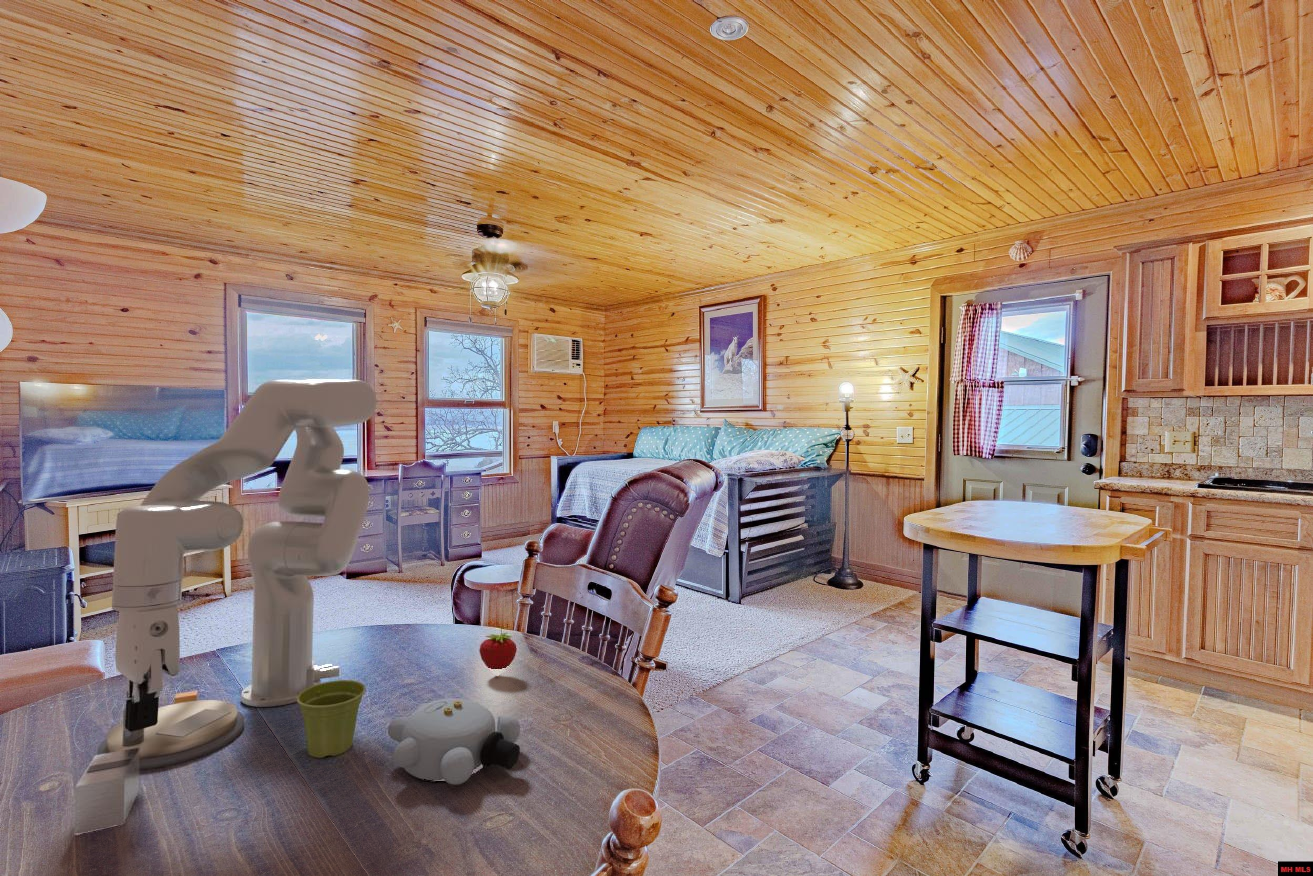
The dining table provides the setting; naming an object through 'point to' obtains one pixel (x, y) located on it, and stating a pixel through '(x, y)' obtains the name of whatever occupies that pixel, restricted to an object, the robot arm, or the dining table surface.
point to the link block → (107, 790)
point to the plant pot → (330, 716)
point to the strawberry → (498, 651)
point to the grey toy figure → (453, 740)
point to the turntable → (176, 728)
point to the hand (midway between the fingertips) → (141, 726)
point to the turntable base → (189, 753)
